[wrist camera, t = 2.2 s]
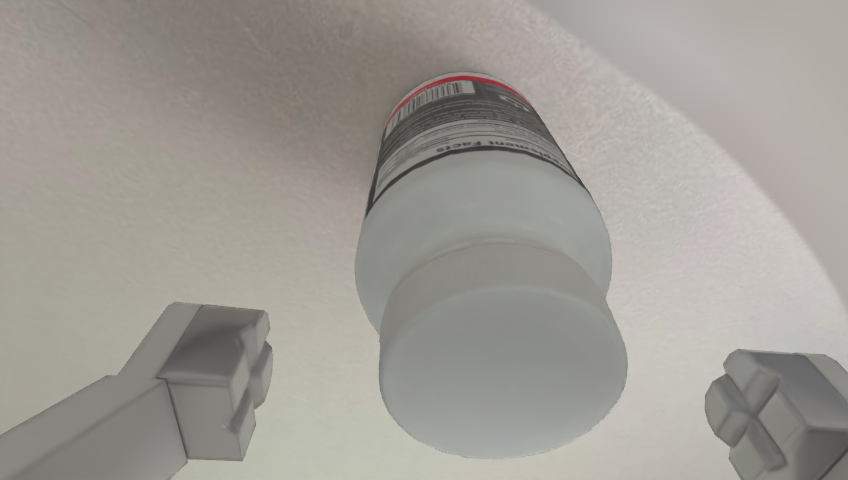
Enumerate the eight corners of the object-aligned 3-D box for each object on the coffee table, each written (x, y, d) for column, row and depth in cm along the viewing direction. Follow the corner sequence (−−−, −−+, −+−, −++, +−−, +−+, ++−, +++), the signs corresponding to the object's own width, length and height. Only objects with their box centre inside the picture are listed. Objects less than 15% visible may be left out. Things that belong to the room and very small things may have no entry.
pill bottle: (519, 230, 17) (604, 496, 9) (372, 212, 17) (324, 472, 9) (564, 81, 15) (745, 273, 6) (388, 54, 14) (337, 223, 6)
